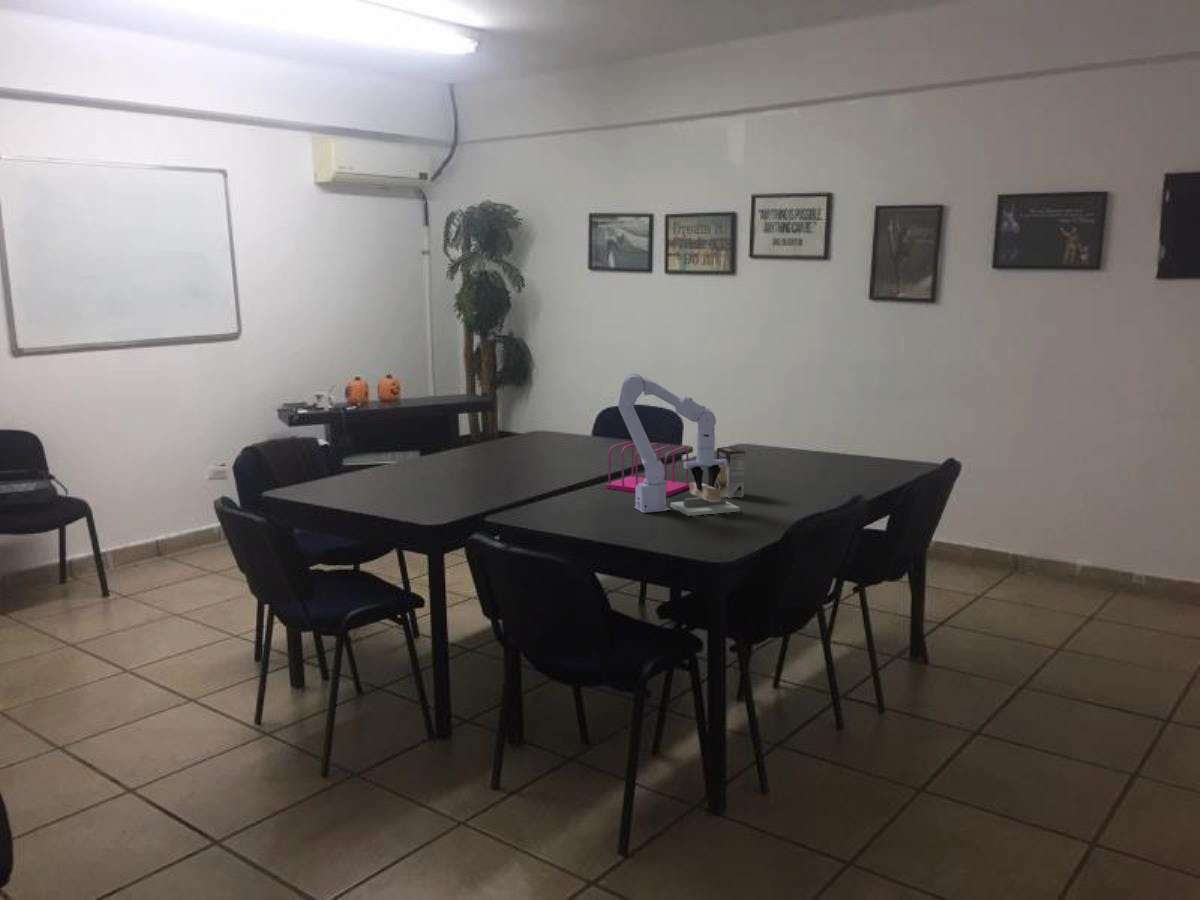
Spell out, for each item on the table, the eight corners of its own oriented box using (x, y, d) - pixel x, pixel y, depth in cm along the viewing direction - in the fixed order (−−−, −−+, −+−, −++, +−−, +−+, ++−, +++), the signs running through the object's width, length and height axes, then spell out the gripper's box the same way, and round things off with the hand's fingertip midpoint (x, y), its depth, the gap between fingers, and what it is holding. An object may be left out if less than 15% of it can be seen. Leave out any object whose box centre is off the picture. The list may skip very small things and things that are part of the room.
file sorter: (666, 497, 328) (667, 452, 325) (605, 489, 342) (605, 445, 339) (691, 488, 342) (691, 444, 340) (631, 480, 356) (631, 438, 353)
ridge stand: (688, 516, 300) (688, 504, 300) (670, 507, 314) (670, 495, 313) (739, 512, 306) (740, 499, 306) (720, 502, 319) (720, 490, 319)
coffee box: (715, 493, 333) (716, 447, 330) (731, 491, 336) (732, 446, 333) (727, 498, 325) (728, 451, 322) (744, 497, 327) (745, 450, 324)
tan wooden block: (689, 493, 316) (689, 482, 316) (699, 492, 317) (699, 481, 317) (710, 502, 301) (710, 491, 301) (720, 501, 302) (720, 490, 302)
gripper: (689, 450, 300) (689, 493, 303) (731, 448, 305) (731, 490, 307) (680, 447, 307) (680, 488, 309) (722, 444, 311) (721, 485, 314)
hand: (705, 489), depth 309 cm, fingers closed on tan wooden block, 3 cm apart
